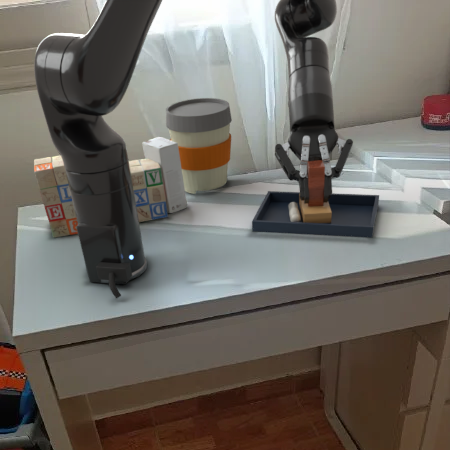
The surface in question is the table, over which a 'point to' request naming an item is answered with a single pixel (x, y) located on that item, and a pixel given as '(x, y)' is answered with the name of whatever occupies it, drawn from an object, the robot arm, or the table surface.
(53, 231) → the stack of blocks
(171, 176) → the cosmetic box
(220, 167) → the reusable coffee cup
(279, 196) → the tray
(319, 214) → the wooden block on base
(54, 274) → the table surface
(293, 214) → the chalk
